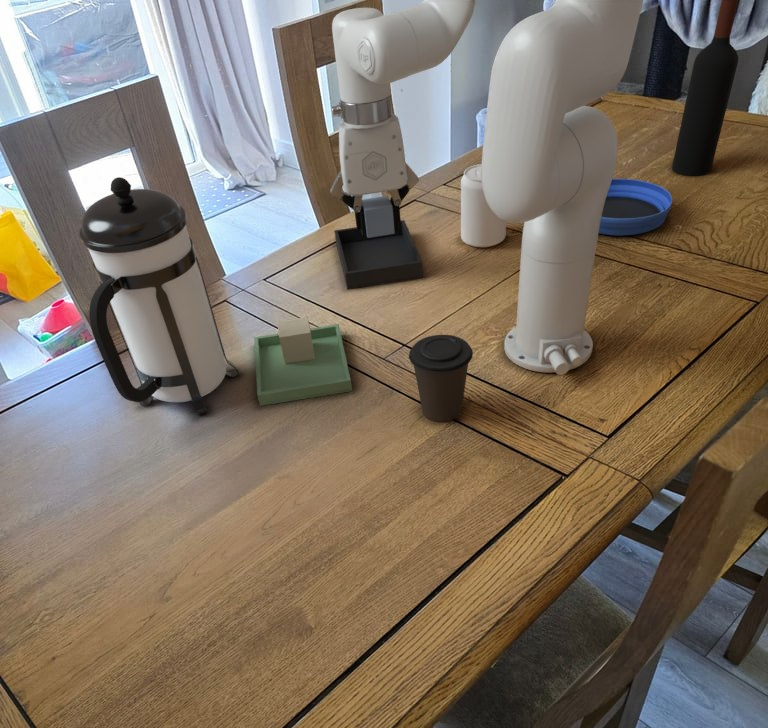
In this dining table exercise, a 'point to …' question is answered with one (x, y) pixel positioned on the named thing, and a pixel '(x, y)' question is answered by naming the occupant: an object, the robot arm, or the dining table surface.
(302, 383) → the dish
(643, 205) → the bowl
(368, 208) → the bluegrey block
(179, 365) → the coffee press
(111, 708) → the dining table surface
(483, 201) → the beverage can
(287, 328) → the cream block
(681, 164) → the wine bottle
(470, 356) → the coffee cup
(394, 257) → the black tray
